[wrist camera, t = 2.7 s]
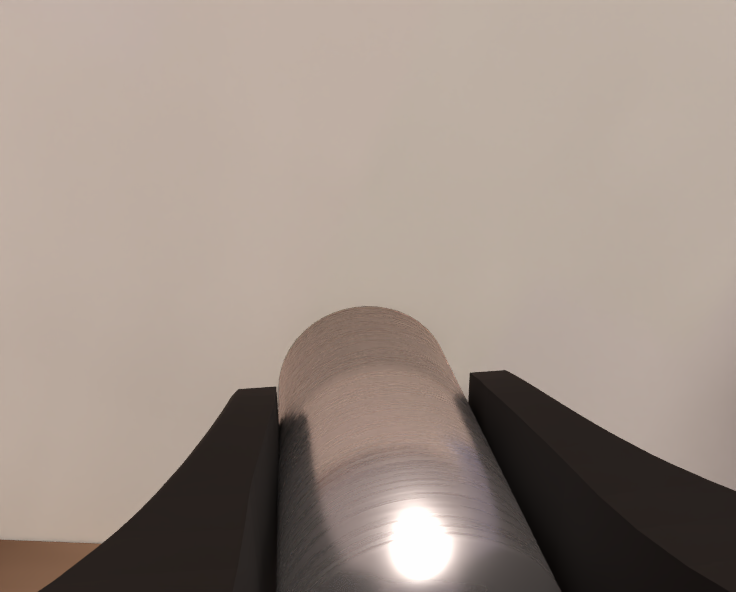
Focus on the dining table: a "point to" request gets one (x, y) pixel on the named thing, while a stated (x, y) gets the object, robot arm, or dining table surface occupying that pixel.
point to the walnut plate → (37, 563)
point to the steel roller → (390, 470)
